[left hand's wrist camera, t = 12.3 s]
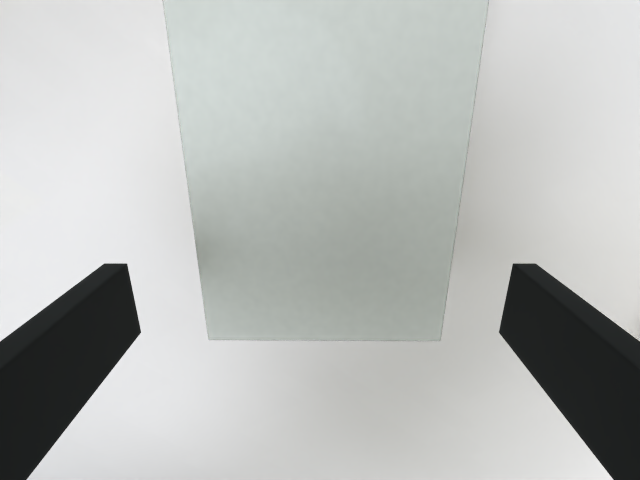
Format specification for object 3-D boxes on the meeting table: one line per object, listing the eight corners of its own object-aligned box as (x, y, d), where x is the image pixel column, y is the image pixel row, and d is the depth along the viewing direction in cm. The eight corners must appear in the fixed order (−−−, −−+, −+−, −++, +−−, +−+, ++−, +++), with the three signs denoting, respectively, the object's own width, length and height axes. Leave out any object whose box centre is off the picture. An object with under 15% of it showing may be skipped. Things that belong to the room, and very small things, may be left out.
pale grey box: (210, -114, 18) (124, -275, 10) (440, -116, 18) (529, -279, 10) (243, 266, 25) (208, 340, 18) (404, 266, 25) (440, 341, 17)
